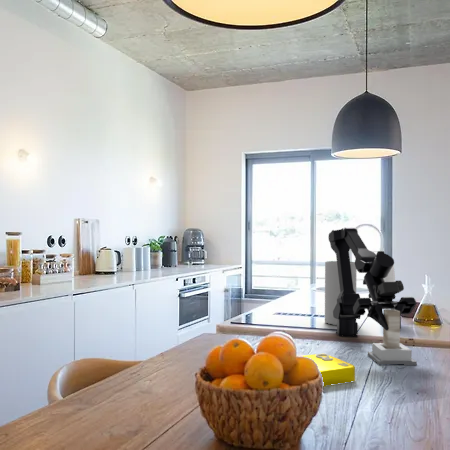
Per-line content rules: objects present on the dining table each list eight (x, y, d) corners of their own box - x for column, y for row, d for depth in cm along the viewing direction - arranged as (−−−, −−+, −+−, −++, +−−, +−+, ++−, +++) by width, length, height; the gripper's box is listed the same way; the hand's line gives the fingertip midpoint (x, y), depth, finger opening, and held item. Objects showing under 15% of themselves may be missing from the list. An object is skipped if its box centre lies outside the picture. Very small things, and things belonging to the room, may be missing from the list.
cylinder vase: (353, 320, 213) (354, 261, 213) (358, 326, 201) (358, 263, 201) (323, 320, 215) (323, 260, 214) (326, 325, 202) (326, 263, 202)
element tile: (278, 373, 139) (278, 356, 139) (324, 367, 145) (324, 351, 145) (309, 390, 125) (309, 371, 125) (358, 383, 131) (358, 364, 131)
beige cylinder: (383, 349, 154) (383, 309, 154) (393, 348, 154) (394, 309, 154) (388, 352, 150) (389, 311, 150) (399, 351, 151) (400, 311, 151)
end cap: (378, 364, 147) (378, 351, 147) (367, 355, 158) (367, 342, 158) (416, 365, 147) (416, 351, 147) (402, 355, 158) (402, 342, 158)
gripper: (357, 271, 155) (373, 314, 144) (413, 271, 158) (433, 313, 147) (346, 293, 162) (360, 335, 152) (400, 292, 165) (418, 334, 155)
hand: (393, 329), depth 151 cm, fingers closed on beige cylinder, 3 cm apart
